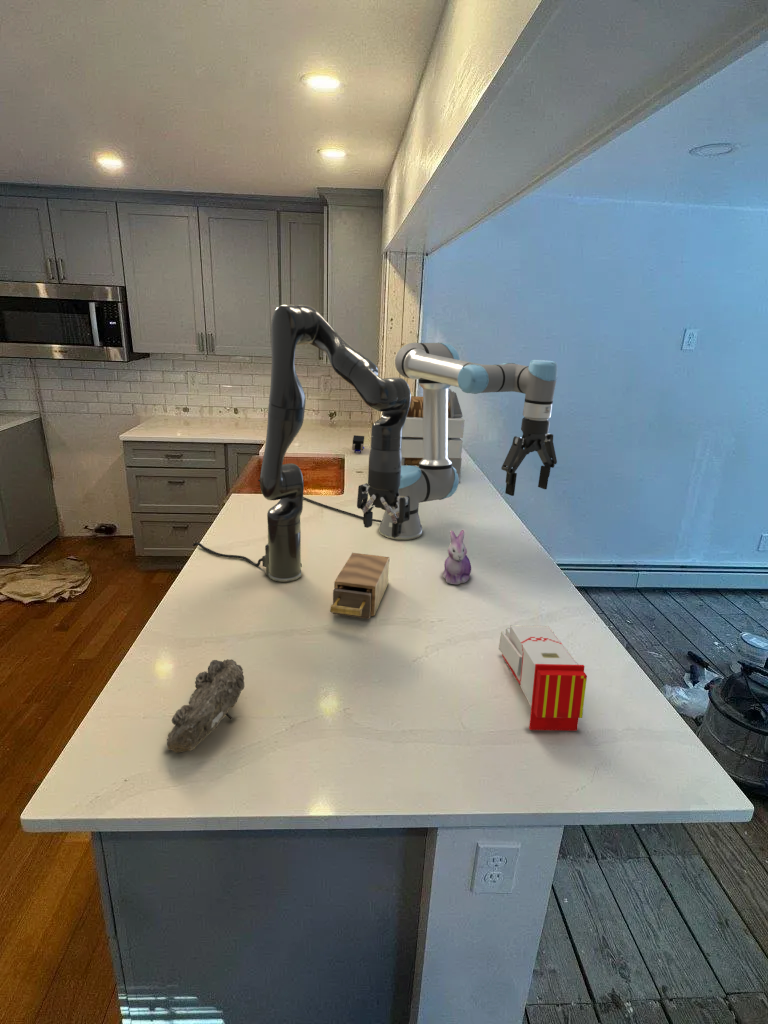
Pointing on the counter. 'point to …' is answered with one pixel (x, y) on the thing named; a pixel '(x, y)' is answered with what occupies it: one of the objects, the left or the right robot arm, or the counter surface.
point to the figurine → (457, 560)
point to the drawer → (352, 601)
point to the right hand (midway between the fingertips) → (526, 491)
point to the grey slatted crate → (414, 433)
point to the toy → (545, 676)
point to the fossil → (206, 705)
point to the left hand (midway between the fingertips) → (381, 531)
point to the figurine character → (358, 443)
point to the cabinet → (366, 575)
